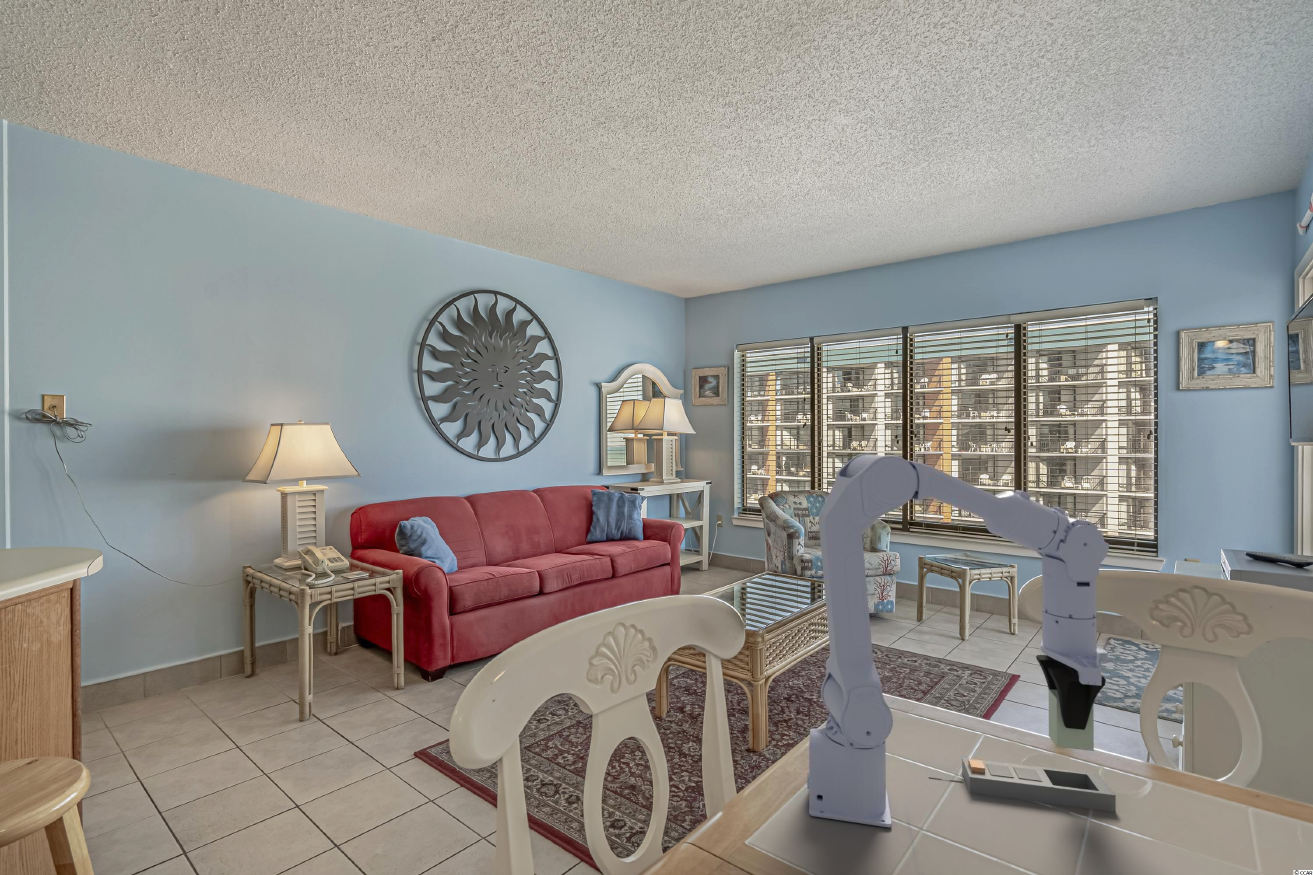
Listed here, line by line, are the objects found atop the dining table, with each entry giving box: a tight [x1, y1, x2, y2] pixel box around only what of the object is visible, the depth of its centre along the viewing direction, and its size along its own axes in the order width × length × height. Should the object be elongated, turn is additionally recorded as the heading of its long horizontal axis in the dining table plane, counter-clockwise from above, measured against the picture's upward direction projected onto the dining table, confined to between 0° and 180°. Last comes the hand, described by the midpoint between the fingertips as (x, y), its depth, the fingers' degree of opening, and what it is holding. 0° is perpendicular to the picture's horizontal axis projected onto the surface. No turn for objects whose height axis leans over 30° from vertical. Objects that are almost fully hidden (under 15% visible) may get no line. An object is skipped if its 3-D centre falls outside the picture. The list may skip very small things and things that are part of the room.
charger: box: [1048, 689, 1095, 752], centre depth 80 cm, size 4×3×7 cm
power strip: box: [928, 757, 1117, 813], centre depth 82 cm, size 20×5×4 cm, turn 74°
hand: (1069, 721), depth 80 cm, fingers closed on charger, 3 cm apart
